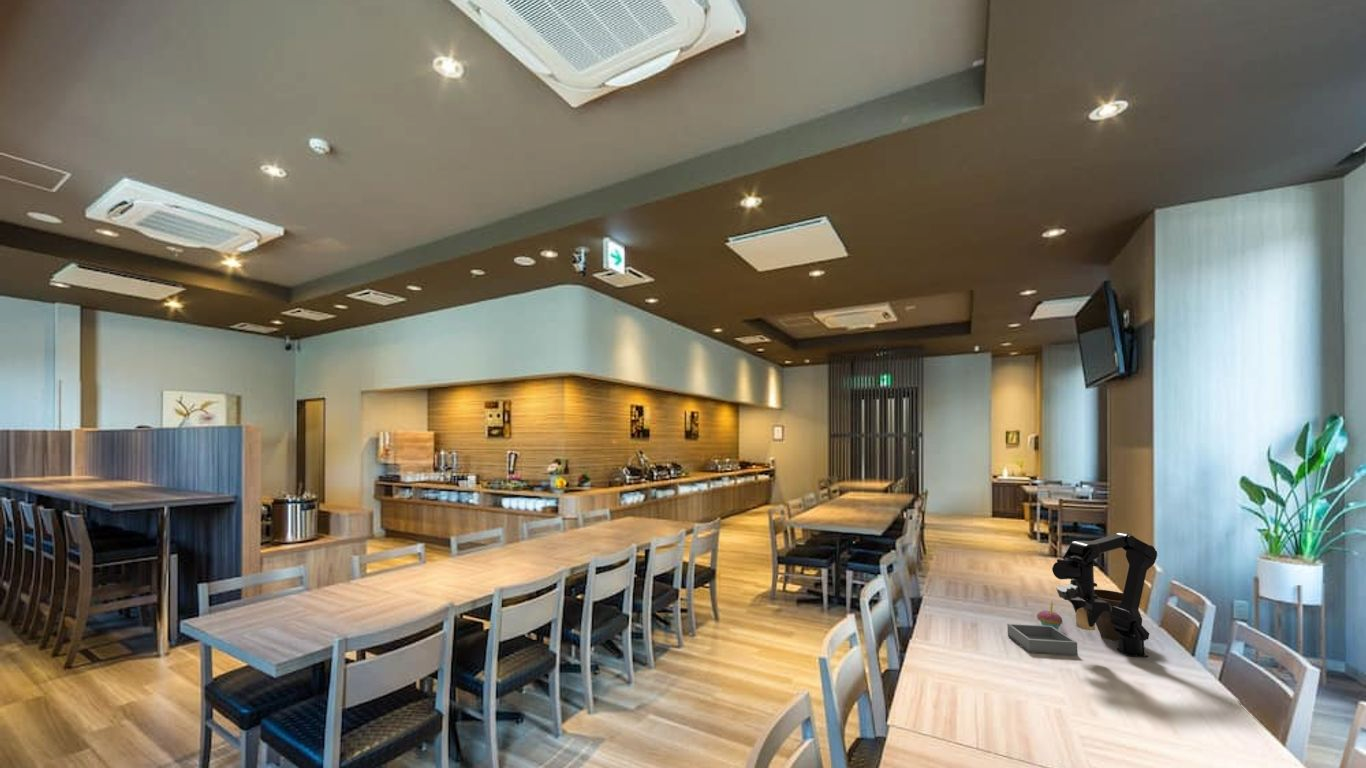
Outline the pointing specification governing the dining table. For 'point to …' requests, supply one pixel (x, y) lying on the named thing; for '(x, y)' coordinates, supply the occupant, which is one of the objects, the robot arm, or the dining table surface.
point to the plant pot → (1108, 613)
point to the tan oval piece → (1083, 620)
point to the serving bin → (1042, 639)
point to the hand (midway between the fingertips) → (1085, 623)
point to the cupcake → (1049, 618)
